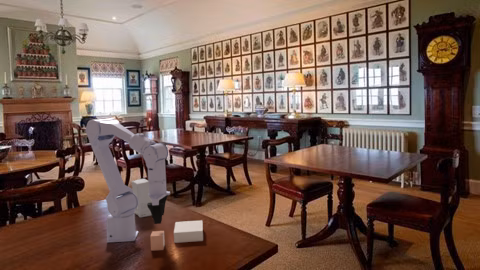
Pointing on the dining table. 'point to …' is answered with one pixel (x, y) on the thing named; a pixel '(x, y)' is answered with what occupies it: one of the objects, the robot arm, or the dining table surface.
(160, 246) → the terracotta block
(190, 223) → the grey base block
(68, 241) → the dining table surface
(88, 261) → the dining table surface
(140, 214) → the skincare box
